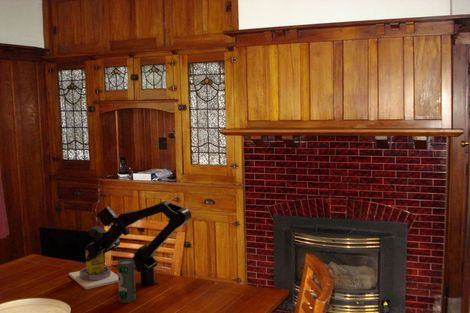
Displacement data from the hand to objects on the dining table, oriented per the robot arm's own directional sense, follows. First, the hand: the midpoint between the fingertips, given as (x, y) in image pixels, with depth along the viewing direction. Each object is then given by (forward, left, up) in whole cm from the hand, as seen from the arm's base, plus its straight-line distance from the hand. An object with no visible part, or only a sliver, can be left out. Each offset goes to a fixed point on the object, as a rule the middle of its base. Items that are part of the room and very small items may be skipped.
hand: (92, 258), depth 225 cm
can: (-33, -2, -9) cm, 34 cm away
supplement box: (-1, -1, -7) cm, 7 cm away
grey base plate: (-1, -1, -9) cm, 9 cm away
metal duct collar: (-1, -1, -9) cm, 9 cm away
